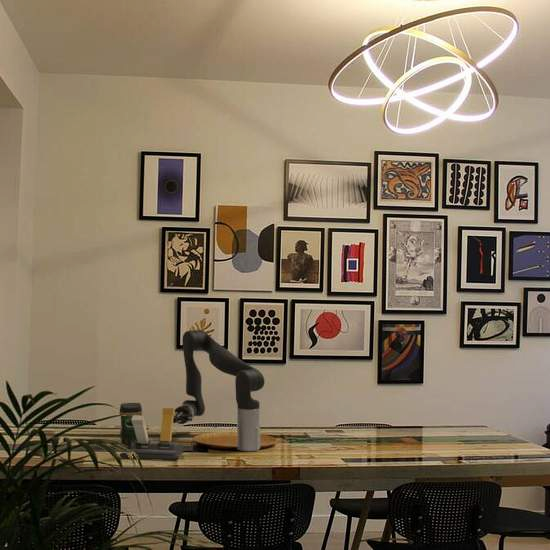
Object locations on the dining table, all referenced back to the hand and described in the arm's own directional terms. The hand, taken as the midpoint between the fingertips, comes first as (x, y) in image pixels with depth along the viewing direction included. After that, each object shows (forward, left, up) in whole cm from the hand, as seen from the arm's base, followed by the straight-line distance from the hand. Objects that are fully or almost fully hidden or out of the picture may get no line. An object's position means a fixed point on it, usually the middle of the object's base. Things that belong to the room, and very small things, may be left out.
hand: (172, 420), depth 324 cm
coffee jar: (+19, -2, -12) cm, 23 cm away
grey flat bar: (+4, +19, -12) cm, 23 cm away
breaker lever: (0, +11, -9) cm, 14 cm away
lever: (+9, +10, -8) cm, 16 cm away
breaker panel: (+4, +11, -12) cm, 17 cm away
